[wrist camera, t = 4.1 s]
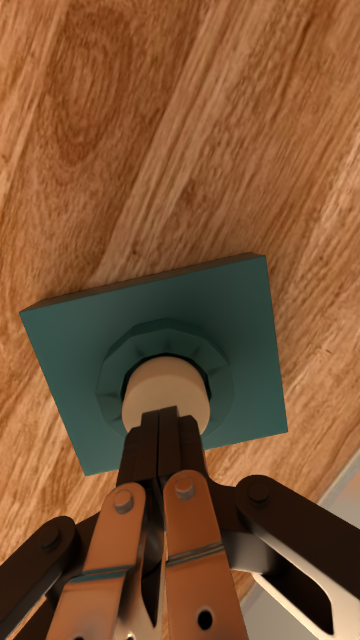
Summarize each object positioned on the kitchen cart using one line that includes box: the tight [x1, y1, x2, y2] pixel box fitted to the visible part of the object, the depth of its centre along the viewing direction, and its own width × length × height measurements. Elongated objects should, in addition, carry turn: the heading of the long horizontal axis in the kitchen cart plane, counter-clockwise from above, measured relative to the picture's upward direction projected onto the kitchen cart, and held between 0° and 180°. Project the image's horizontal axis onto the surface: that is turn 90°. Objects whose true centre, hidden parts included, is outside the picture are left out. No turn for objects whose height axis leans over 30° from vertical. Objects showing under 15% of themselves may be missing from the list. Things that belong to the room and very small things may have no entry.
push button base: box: [19, 252, 288, 476], centre depth 17 cm, size 13×11×4 cm
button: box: [122, 356, 210, 435], centre depth 14 cm, size 4×4×2 cm
